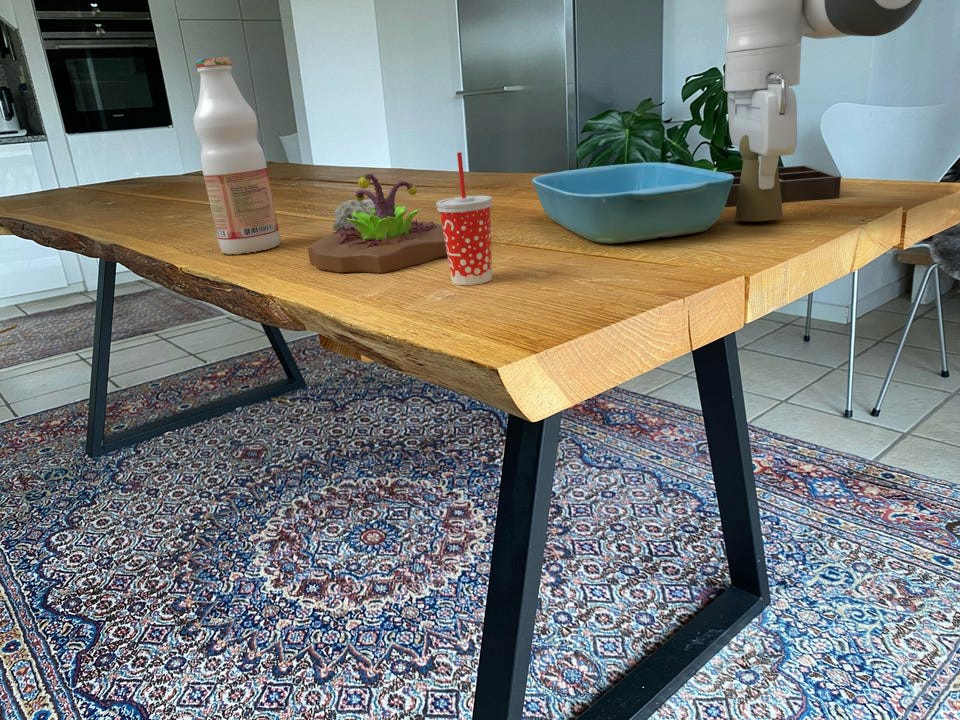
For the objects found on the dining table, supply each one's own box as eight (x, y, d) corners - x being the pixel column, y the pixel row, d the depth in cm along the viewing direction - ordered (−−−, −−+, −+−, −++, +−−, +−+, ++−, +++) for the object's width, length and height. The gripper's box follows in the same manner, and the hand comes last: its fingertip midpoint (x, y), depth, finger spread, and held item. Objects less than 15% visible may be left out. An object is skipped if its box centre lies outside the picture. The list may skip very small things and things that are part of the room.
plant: (283, 267, 100) (267, 183, 96) (383, 238, 114) (373, 164, 110) (388, 278, 88) (375, 183, 84) (486, 243, 102) (479, 161, 98)
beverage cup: (444, 276, 86) (430, 153, 81) (496, 270, 86) (485, 147, 82) (445, 289, 80) (430, 157, 76) (501, 283, 81) (490, 151, 76)
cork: (729, 215, 102) (730, 132, 98) (773, 210, 101) (776, 127, 98) (742, 222, 96) (743, 135, 92) (789, 218, 96) (793, 130, 92)
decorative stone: (322, 229, 129) (317, 200, 127) (380, 219, 133) (376, 191, 131) (342, 237, 118) (337, 206, 117) (404, 226, 123) (400, 196, 121)
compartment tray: (806, 183, 125) (807, 165, 124) (839, 197, 110) (841, 176, 109) (706, 191, 127) (706, 173, 126) (725, 206, 112) (725, 185, 111)
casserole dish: (522, 215, 122) (519, 171, 119) (651, 200, 124) (650, 156, 122) (586, 259, 87) (584, 198, 85) (763, 236, 90) (765, 177, 88)
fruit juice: (208, 256, 114) (164, 62, 104) (241, 243, 122) (203, 62, 112) (262, 254, 111) (222, 54, 101) (292, 241, 119) (258, 56, 110)
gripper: (814, 69, 82) (808, 194, 87) (767, 72, 101) (765, 174, 106) (755, 76, 83) (753, 199, 88) (720, 77, 102) (720, 178, 107)
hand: (759, 185), depth 97 cm, fingers closed on cork, 4 cm apart
